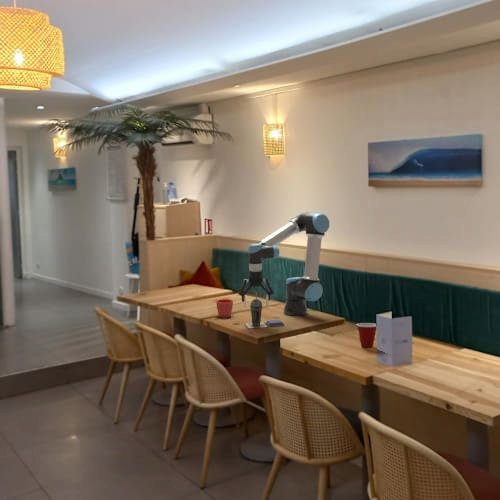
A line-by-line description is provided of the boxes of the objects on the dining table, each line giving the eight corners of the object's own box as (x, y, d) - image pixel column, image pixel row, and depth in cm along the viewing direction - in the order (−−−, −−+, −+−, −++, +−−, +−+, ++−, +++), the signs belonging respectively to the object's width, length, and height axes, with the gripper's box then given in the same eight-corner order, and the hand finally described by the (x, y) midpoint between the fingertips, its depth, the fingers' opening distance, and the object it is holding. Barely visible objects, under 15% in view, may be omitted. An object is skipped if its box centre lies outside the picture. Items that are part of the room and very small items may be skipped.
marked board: (264, 323, 377) (264, 322, 377) (268, 327, 365) (268, 326, 365) (244, 324, 375) (244, 323, 375) (248, 329, 363) (248, 328, 363)
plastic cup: (376, 344, 327) (376, 321, 326) (378, 349, 317) (379, 326, 315) (355, 343, 328) (355, 321, 327) (356, 349, 318) (357, 326, 316)
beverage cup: (262, 323, 374) (262, 290, 371) (262, 326, 367) (262, 292, 364) (249, 323, 373) (249, 290, 371) (250, 326, 366) (250, 292, 364)
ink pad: (280, 322, 379) (280, 319, 378) (284, 325, 370) (284, 322, 370) (265, 323, 377) (265, 320, 377) (269, 326, 368) (269, 323, 368)
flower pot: (236, 315, 400) (236, 300, 399) (226, 318, 391) (226, 303, 390) (222, 313, 406) (222, 298, 405) (213, 316, 397) (212, 301, 396)
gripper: (274, 268, 372) (275, 304, 375) (233, 270, 367) (233, 306, 370) (277, 270, 365) (278, 306, 367) (235, 272, 360) (236, 309, 363)
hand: (256, 306), depth 369 cm, fingers open, 13 cm apart
